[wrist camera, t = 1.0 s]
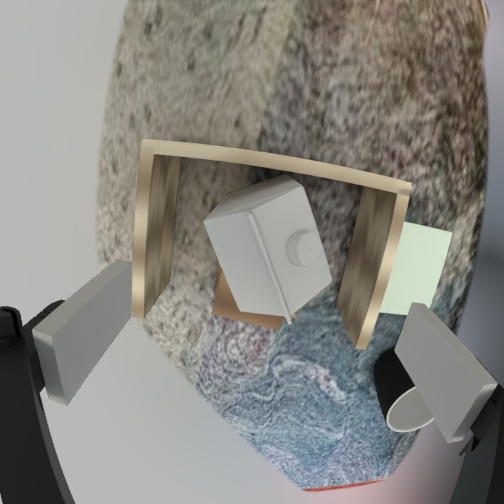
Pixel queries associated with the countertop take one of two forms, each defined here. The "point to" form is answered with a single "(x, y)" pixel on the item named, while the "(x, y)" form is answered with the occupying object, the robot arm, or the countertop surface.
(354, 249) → the frame
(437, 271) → the mat
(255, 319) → the offcut stack
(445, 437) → the robot arm
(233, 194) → the milk carton
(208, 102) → the countertop surface
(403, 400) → the mug
